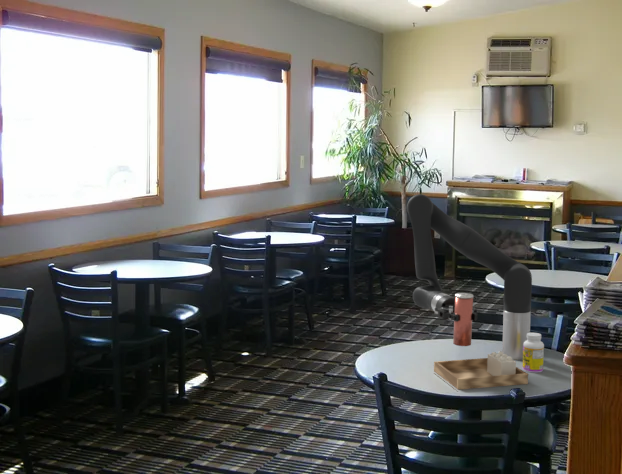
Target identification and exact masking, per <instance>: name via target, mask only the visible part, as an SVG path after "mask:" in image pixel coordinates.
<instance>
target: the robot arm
mask: <svg viewBox="0 0 622 474" xmlns="http://www.w3.org/2000/svg"><path fill="white" fill-rule="evenodd" d="M406 211H407V214H408V216H409V220H410V223H411V228H412V235H413V247H414V249H413V250H414V265H415V275H416V278H417V279H418V280H422V281H423V280H424V281H427V282H428V283H429V285H423V286H422V285H421V286H418V287H416V288H415V289H414V290H413V292H412V299H413V302H414V304H415V305H416V306H418V307H419V308H422V309H426V310H432V311H433V312H434V316H435V317H437V318H440V319H442V320H447V321H453V322H454V321H455V322H458V317H459V316H458V314H456V313H455V297H454V296H452V295H449V294H447V293H444V292H443V290H442V287H441V285H440V284H441V283H440V282H439V278H438V275H437V272H436V271H437V269H436V261H435V260H436V259H435V252H434V246H433V240H432V239H433V238H432V232H431V231H432V230H433V232H435V233H437V234H438V235H439V236H440V237H441V238H442V239H443V240H444V241H445V242H447V243H448V245H449V246H451V247H452V248H453V249H455V250H456V251H458V253H460V254H462V255H463V256H464V257H466V258H467V259H469V260H471V261H474V262H475V263H477V264H480V265H482V266H483V267H486V268H488V269H489V270H491V271H492V272H494V273H495V274H496V275H497V276H498V277H500V278H501V279H502V280H503V315H502V316H503V317H502V324H503V325H502V347H501V348H502V349H501V351H502V352H503V354H507V355H508V356H510V357H512V360H514V361H515V360H516V361H519V360H520V361H523V344H524V342H525V341H527V333H532V332H531V313H532V312H531V311H532V310H531V309H532V289H533V288H532V287H533V279H532V278H533V275H532V272H531V270H530V268H528V267H527V266H526V265H525V264H523V263H521V262H520V261H517V260H515V259H513V258H512V257H510V256H508V254H505V253H504V252H503V251H501V250H499V248H498V247H496V246H495V245H494V244H493V243H492V242H490V241H489V240H487V238H485V237H484V236H482V234H480V233H479V232H478V231H476V230H475V229H473V228H471V227H470V226H468V225H466V224H465V223H463V222H462V221H460V220H458V219H455V218H453V217H452V216H450V215H448V214H447V213H445V212H444V211H443V210H442V209H441V208H439V207H438V206H437V205H436V204H435V203H433V201H432V200H431V199H430V198H429V197H428V196H427V195H425V194H421V193H419V194H414V195H413V196H412V197H410V199H409V200H408V202H407V205H406ZM477 320H478V309H477V308H476V307H475V306H473V312H472V322H475V321H477Z"/></svg>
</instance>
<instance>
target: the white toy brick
mask: <svg viewBox="0 0 622 474" xmlns="http://www.w3.org/2000/svg"><path fill="white" fill-rule="evenodd" d="M487 358H488V360H487V372H488V373H490V374H491V375H493V376H497V375H510V374H516V367H517V360H516V361H515V360H513V359H512V357H510V356H508V355H507V354H503V352H502V350H500V351H498V353H497V352H496V351H492V352H491V353H487Z"/></svg>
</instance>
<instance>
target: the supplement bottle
mask: <svg viewBox="0 0 622 474" xmlns="http://www.w3.org/2000/svg"><path fill="white" fill-rule="evenodd" d="M541 340H542V334H541V333H538V332H531V333H527V341H525V342H524V344H523V360H522V371H524V372H527V373H542V372H544V353H545V351H544V350H545V344H544V342H543V341H541Z"/></svg>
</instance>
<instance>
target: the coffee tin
mask: <svg viewBox="0 0 622 474" xmlns="http://www.w3.org/2000/svg"><path fill="white" fill-rule="evenodd" d="M454 298H455V313H456V314H458V316H459V317H458V322H455V321H454V320H453V337H452V338H453V339H452V340H453V345H454V346H458V347H469V346H471V345H472V334H473V332H472V331H473V330H472V329H473V320H472V312H473V307H474V306H473V305H474V294H473V293H469V292H457V293H456V292H455V293H454Z"/></svg>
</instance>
